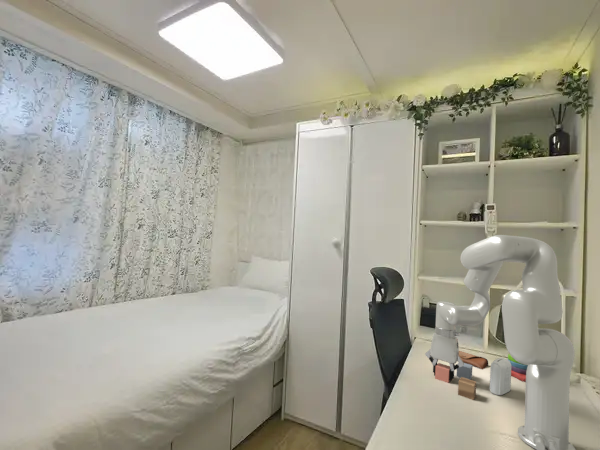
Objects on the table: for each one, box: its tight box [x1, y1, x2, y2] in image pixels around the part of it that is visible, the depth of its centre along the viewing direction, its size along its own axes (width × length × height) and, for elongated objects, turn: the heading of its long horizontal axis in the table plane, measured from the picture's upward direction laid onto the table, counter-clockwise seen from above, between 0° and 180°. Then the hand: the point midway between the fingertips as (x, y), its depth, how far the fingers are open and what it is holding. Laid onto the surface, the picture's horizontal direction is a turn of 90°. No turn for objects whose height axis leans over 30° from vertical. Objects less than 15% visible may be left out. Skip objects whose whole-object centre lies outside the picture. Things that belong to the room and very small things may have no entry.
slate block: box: [456, 363, 474, 380], centre depth 124 cm, size 5×5×5 cm
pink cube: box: [434, 362, 450, 383], centre depth 120 cm, size 5×5×5 cm
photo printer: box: [489, 357, 512, 396], centre depth 113 cm, size 10×4×12 cm, turn 123°
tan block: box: [457, 377, 477, 401], centre depth 108 cm, size 5×5×5 cm
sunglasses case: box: [459, 350, 489, 370], centre depth 143 cm, size 18×7×7 cm
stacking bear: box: [507, 353, 528, 383], centre depth 130 cm, size 11×10×18 cm
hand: (443, 376), depth 120 cm, fingers closed on pink cube, 5 cm apart
